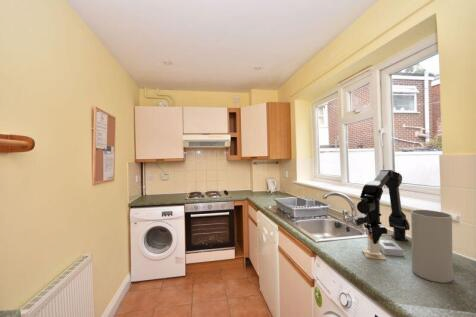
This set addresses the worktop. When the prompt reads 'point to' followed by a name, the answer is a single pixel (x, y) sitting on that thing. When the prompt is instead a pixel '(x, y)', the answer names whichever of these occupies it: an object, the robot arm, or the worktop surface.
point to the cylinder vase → (432, 245)
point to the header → (390, 248)
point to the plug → (373, 245)
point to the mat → (373, 255)
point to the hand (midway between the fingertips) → (373, 242)
